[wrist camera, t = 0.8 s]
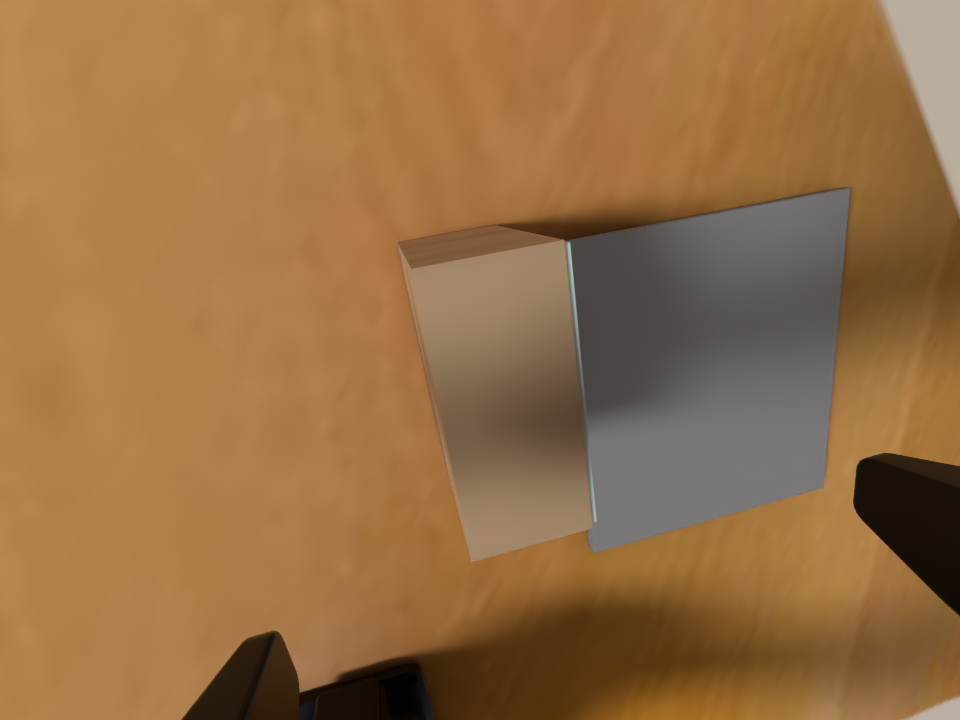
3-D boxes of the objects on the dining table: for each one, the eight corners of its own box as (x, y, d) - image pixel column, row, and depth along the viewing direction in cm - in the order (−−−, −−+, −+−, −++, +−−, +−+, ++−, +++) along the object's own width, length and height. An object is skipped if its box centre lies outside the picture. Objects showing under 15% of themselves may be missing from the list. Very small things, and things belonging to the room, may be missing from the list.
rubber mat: (814, 482, 25) (823, 487, 24) (588, 546, 23) (593, 553, 22) (839, 187, 20) (850, 187, 19) (557, 241, 18) (562, 242, 18)
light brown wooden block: (526, 421, 20) (598, 526, 14) (439, 442, 20) (471, 562, 13) (498, 223, 18) (571, 238, 11) (397, 242, 17) (411, 268, 11)
